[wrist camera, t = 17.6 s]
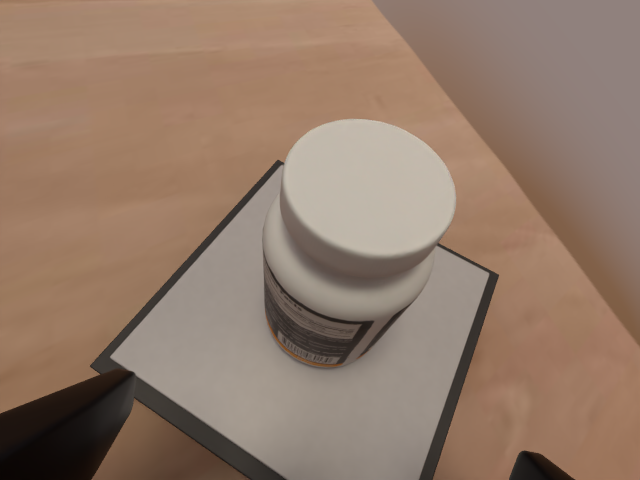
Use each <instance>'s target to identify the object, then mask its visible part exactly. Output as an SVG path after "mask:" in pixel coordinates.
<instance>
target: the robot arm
mask: <svg viewBox="0 0 640 480" xmlns="http://www.w3.org/2000/svg"><path fill="white" fill-rule="evenodd" d="M135 383H136V374H135V373H134V372H133V371H129V370H125V369H119V368H117V369H114V370H111V371H109V372H106V373H103V374H101V375H98V376H96V377H93V378H91V379H88V380H85V381H83V382H80V383H78V384H75V385H73V386H70V387H67V388H65V389H62V390H60V391H57V392H55V393H52V394H49V395H47V396H44V397H42V398H39V399H37V400H34V401H31V402H29V403H26V404H24V405H21V406H19V407H16V408H13V409H11V410H8V411H6V412H3V413H0V480H92V478H93V476H94V475H95V473H96V471H97V470H98V468H99V466H100V464H101V463H102V461H103V459H104V458H105V456H106V454H107V452H108V451H109V449H110V447H111V445H112V444H113V442H114V440H115V438H116V437H117V435H118V433H119V432H120V430H121V428H122V426H123V425H124V423H125V421H126V419H127V418H128V416H129V414H130V412H131V409H132V406H133V401H134V392H135ZM509 480H575V479H573V478H572V477H571V476H569V475H568V474H567V473H565V472H564V471H563V470H561V469H560V468H559V467H557V466H556V465H555V464H553V463H552V462H551V461H549V460H548V459H547V458H545V457H544V456H543V455H541V454H539V453H534V452H529V451H521V452H520V453H519V455H518V457H517V459H516V462H515V465H514V467H513V470H512V473H511V475H510V478H509Z"/></svg>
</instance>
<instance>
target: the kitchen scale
mask: <svg viewBox="0 0 640 480" xmlns="http://www.w3.org/2000/svg"><path fill="white" fill-rule="evenodd" d="M283 166H284V163H283V162H281V161H279V160H277V161H276V162H275V163H274V165H273V166H272V167H271V168H270V169H269V170H268V171H267V172H266V173H265V174H264V176H263V177H262V178H261V179H260V180H259V181H258V182H257V183H256V184H255V185H254V186H253V188H252V189H251V190H250V191H249V192H248V193H247V194H246V195H245V196H244V197H243V199H242V200H241V201H240V202H239V203H238V204H237V205H236V206H235V207H234V208H233V210H232V211H231V212H230V213H229V214H228V215H227V216H226V217H225V218H224V219H223V220H222V222H221V223H220V224H219V225H218V226H217V227H216V228H215V229H214V230H213V231H212V233H211V234H210V235H209V236H208V237H207V238H206V239H205V240H204V241H203V242H202V244H201V245H200V246H199V247H198V248H197V249H196V250H195V251H194V252H193V253H192V254H191V256H190V257H189V258H188V259H187V260H186V261H185V262H184V263H183V264H182V265H181V267H180V268H179V269H178V270H177V271H176V272H175V273H174V274H173V275H172V276H171V278H170V279H169V280H168V281H167V282H166V283H165V284H164V285H163V286H162V287H161V288H160V290H159V291H158V292H157V293H156V294H155V295H154V296H153V297H152V298H151V299H150V301H149V302H148V303H147V304H146V305H145V306H144V307H143V308H142V309H141V310H140V312H139V313H138V314H137V315H136V316H135V317H134V318H133V319H132V320H131V321H130V322H129V324H128V325H127V326H126V327H125V328H124V329H123V330H122V331H121V332H120V333H119V335H118V336H117V337H116V338H115V339H114V340H113V341H112V342H111V343H110V344H109V346H108V347H107V348H106V349H105V350H104V351H103V352H102V353H101V354H100V355H99V356H98V358H97V359H96V360H95V361H94V362H93V363H92V364H91V365H90V367H91V368H93V369H94V370H95V371H97V372H98V373H100V374H103V373H106V372H109V371H111V370H114V369H117V368H119V369H125V370H129V371H133V372H134V373H135V374H136V383H135V392H134V398H135V399H137V400H138V401H139V402H141V403H142V404H144V405H145V406H147V407H148V408H149V409H151V410H152V411H154V412H155V413H157V414H158V415H159V416H161V417H162V418H164V419H165V420H167V421H168V422H169V423H171V424H172V425H174V426H175V427H176V428H178V429H179V430H181V431H182V432H184V433H185V434H186V435H188V436H189V437H191V438H192V439H194V440H195V441H196V442H198V443H199V444H201V445H202V446H203V447H205V448H206V449H208V450H209V451H211V452H212V453H213V454H215V455H216V456H218V457H219V458H221V459H222V460H223V461H225V462H226V463H228V464H229V465H231V466H232V467H233V468H235V469H236V470H238V471H239V472H240V473H242V474H243V475H245V476H246V477H248V478H249V479H250V480H432V479H433V476H434V473H435V470H436V467H437V464H438V461H439V458H440V455H441V451H442V448H443V445H444V442H445V439H446V436H447V433H448V430H449V427H450V424H451V421H452V418H453V415H454V412H455V409H456V405H457V402H458V399H459V396H460V393H461V390H462V387H463V384H464V381H465V378H466V375H467V372H468V369H469V366H470V362H471V359H472V356H473V353H474V350H475V347H476V344H477V341H478V338H479V335H480V332H481V329H482V326H483V323H484V320H485V316H486V313H487V310H488V307H489V304H490V301H491V298H492V295H493V292H494V289H495V286H496V283H497V280H498V277H499V275H498V274H496V273H494V272H492V271H491V270H489V269H487V268H485V267H483V266H481V265H479V264H477V263H475V262H473V261H471V260H469V259H468V258H466V257H464V256H462V255H460V254H458V253H456V252H454V251H452V250H450V249H448V248H446V247H445V246H443V245H441V244H439V243H438V244H437V245H436V247H435V256H434V263H433V268H432V271H431V274H430V277H429V279H428V282H427V284H426V285H425V287H424V288H423V290H422V292H421V293H420V295H419V296H418V298H417V299H416V300H415V301H414V302H413V303H412V304H411V305H410V306H409V307H408V308H407V309H406V310H405V312H404V313H403V314H402V315H401V316H400V317H399V318H398V319H397V320H396V321H395V323H394V324H393V325H392V326H391V327H390V328H389V329H388V330H387V331H386V333H385V334H384V335H383V336H382V337H381V338H380V339H379V341H378V342H377V343H376V344H375V345H374V346H373V347H372V348H371V349H370V350H369V351H368V352H367V353H366V354H364V355H363V356H362V357H360V358H359V359H357V360H356V361H354V362H351V363H349V364H346V365H344V366H339V367H331V368H324V367H316V366H311V365H308V364H305V363H302V362H300V361H298V360H297V359H295V358H293V357H292V356H290V355H289V354H287V353H286V352H285V351H284V350H283V349H282V348H281V347H280V346H279V344H278V343H277V342H276V340H275V339H274V337H273V335H272V333H271V331H270V329H269V326H268V323H267V320H266V314H265V304H264V268H263V242H262V236H263V227H264V223H265V219H266V215H267V213H268V211H269V208H270V206H271V204H272V203H273V201H274V199H275V198H276V197H277V195H278V194H279V193H280V190H281V179H282V170H283Z"/></svg>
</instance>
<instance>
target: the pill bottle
mask: <svg viewBox="0 0 640 480" xmlns="http://www.w3.org/2000/svg"><path fill="white" fill-rule="evenodd" d="M455 207H456V193H455V187H454V183H453V180H452V177H451V175H450V173H449V171H448V169H447V167H446V165H445V164H444V162H443V161H442V160H441V158H440V157H439V156H438V155H437V154H436V153H435V152H434V151H433V150H432V149H431V148H430V147H429V146H428V145H427V144H426V143H425V142H423V141H422V140H420V139H419V138H417V137H416V136H414V135H412V134H411V133H409V132H407V131H405V130H403V129H401V128H399V127H396V126H394V125H391V124H387V123H383V122H379V121H374V120H367V119H345V120H338V121H333V122H329V123H326V124H323V125H321V126H319V127H316V128H314V129H312V130H311V131H309V132H308V133H306V134H305V135H304V136H302V137H301V138H300V139H299V140H298V141H297V142H296V143H295V145H294V146H293V147H292V148H291V150H290V152H289V154H288V155H287V158H286V160H285V163H284V166H283V170H282V179H281V190H280V193H279V194H278V195H277V197H276V198H275V199H274V201H273V203H272V204H271V206H270V208H269V211H268V213H267V215H266V219H265V223H264V227H263V236H262V242H263V268H264V304H265V314H266V320H267V323H268V326H269V329H270V331H271V333H272V335H273V337H274V339H275V340H276V342H277V343H278V344H279V346H280V347H281V348H282V349H283V350H284V351H285V352H286V353H287V354H289V355H290V356H292V357H293V358H295V359H297V360H298V361H300V362H302V363H305V364H308V365H311V366H316V367H324V368H331V367H339V366H344V365H346V364H349V363H351V362H354V361H356V360H357V359H359V358H360V357H362V356H363V355H364V354H366V353H367V352H368V351H369V350H370V349H371V348H372V347H373V346H374V345H375V344H376V343H377V342H378V341H379V339H380V338H381V337H382V336H383V335H384V334H385V333H386V331H387V330H388V329H389V328H390V327H391V326H392V325H393V324H394V323H395V321H396V320H397V319H398V318H399V317H400V316H401V315H402V314H403V313H404V312H405V310H406V309H407V308H408V307H409V306H410V305H411V304H412V303H413V302H414V301H415V300H416V299H417V298H418V296H419V295H420V293H421V292H422V290H423V288H424V287H425V285H426V284H427V282H428V279H429V277H430V274H431V271H432V268H433V263H434V256H435V247H436V245H437V244H438V242H439V241H440V240H441V238H442V237H443V235H444V234H445V232H446V231H447V229H448V227H449V225H450V223H451V221H452V219H453V216H454V212H455Z"/></svg>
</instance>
